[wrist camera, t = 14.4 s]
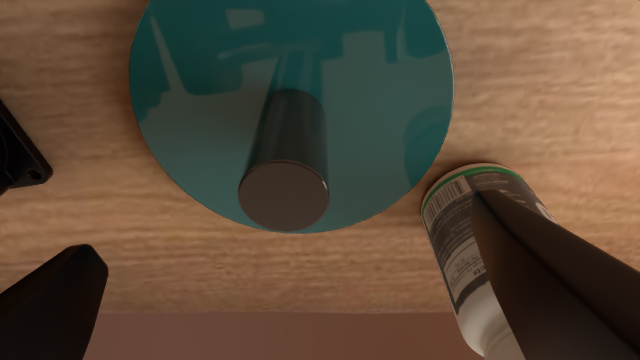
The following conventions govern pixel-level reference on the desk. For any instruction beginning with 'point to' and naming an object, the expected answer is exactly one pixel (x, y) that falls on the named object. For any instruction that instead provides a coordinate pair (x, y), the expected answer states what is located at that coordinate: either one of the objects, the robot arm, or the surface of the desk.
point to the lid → (292, 104)
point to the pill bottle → (473, 253)
